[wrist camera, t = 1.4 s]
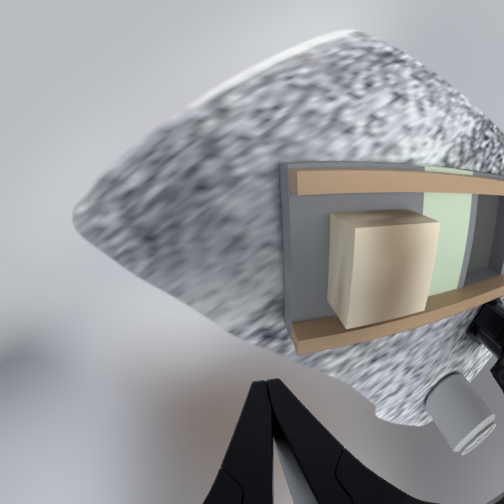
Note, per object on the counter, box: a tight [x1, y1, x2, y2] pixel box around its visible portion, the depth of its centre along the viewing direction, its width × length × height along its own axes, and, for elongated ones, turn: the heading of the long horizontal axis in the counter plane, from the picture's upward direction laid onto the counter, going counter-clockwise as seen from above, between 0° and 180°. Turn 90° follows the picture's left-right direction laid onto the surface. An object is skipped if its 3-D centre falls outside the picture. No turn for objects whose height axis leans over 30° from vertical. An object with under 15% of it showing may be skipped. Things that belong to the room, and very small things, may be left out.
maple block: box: [327, 209, 440, 329], centre depth 16 cm, size 6×6×4 cm
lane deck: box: [279, 161, 504, 355], centre depth 18 cm, size 26×12×4 cm, turn 94°
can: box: [425, 374, 496, 455], centre depth 24 cm, size 8×8×12 cm
